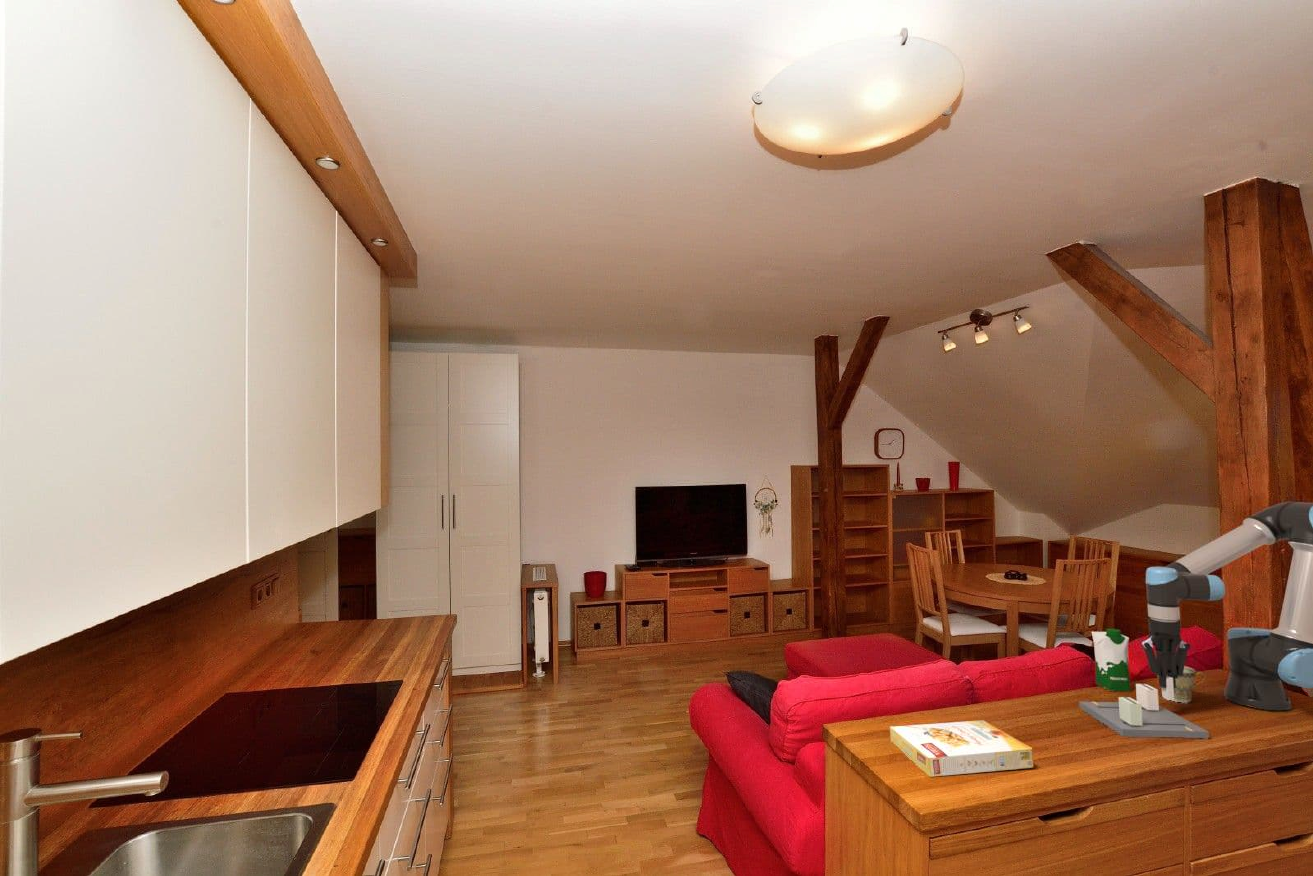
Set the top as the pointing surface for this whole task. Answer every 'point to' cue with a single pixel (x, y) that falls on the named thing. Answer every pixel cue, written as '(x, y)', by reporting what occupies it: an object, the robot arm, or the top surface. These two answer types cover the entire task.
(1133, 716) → the fader
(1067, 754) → the top surface
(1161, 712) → the console
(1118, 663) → the milk carton
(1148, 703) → the block
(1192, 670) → the ceramic cup
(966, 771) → the cereal box
